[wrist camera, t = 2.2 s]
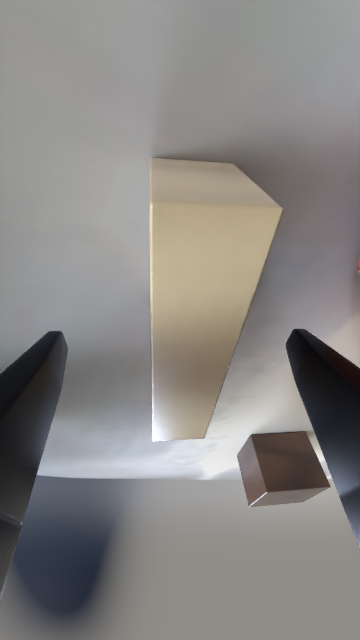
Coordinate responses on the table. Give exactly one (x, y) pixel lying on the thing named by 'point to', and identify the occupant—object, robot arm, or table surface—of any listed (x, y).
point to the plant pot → (359, 265)
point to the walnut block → (280, 469)
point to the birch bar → (200, 283)
